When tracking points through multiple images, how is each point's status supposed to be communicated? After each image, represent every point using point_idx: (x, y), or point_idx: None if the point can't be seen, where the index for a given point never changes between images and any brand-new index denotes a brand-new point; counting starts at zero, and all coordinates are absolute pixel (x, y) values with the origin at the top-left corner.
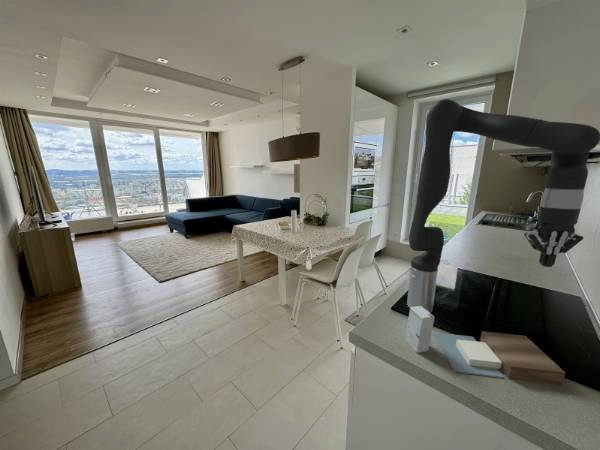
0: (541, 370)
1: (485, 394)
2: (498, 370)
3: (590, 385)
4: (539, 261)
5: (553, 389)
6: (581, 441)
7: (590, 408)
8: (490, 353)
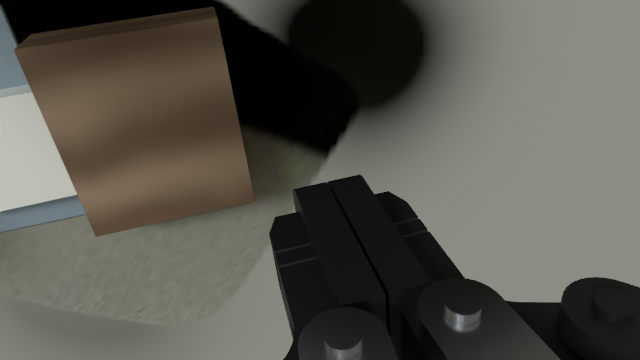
0: (188, 215)
1: (24, 286)
2: None
3: (329, 144)
4: (271, 239)
5: None
6: (203, 314)
7: None
8: (48, 158)
